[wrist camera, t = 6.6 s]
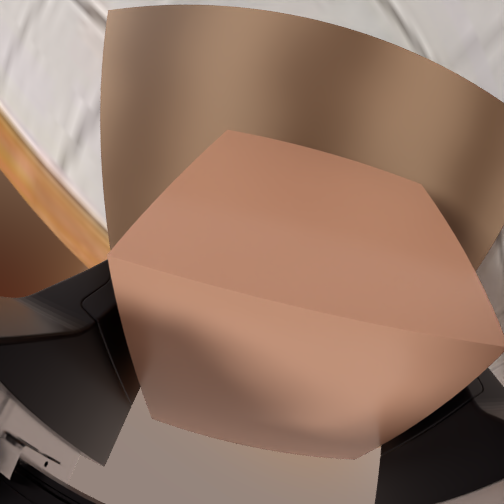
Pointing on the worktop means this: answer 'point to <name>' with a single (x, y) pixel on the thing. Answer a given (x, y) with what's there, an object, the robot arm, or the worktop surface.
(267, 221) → the terracotta cube
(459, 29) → the worktop surface
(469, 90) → the walnut block
